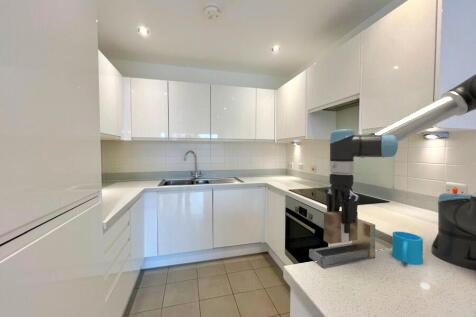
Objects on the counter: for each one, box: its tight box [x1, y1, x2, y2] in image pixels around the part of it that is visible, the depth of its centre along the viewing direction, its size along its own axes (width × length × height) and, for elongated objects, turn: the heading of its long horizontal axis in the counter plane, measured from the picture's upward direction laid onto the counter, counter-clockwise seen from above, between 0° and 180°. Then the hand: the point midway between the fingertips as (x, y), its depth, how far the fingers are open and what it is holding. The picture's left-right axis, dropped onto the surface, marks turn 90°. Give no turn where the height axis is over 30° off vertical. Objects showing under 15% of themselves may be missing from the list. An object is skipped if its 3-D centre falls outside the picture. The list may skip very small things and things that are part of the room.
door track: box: [308, 218, 376, 269], centre depth 70 cm, size 22×7×12 cm, turn 107°
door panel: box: [323, 210, 359, 245], centre depth 70 cm, size 12×3×10 cm, turn 107°
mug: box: [391, 231, 424, 266], centre depth 68 cm, size 12×8×8 cm
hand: (340, 239), depth 70 cm, fingers closed on door panel, 3 cm apart
